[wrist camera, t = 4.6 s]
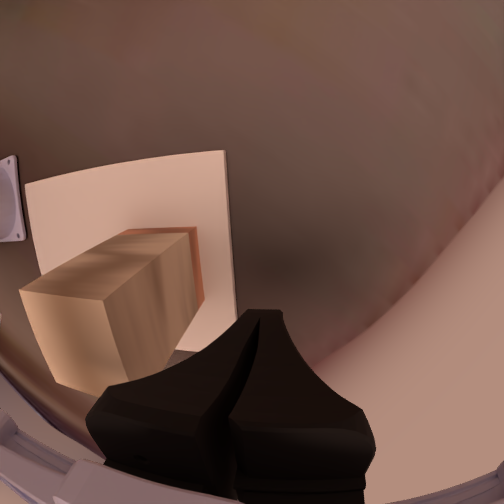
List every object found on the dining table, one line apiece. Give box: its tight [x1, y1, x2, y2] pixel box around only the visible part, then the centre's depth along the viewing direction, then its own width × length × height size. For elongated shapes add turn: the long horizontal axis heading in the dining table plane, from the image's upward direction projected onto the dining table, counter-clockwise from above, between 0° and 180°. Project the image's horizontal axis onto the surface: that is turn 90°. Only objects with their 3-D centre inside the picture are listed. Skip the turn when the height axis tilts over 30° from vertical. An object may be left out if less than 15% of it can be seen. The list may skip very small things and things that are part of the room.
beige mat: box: [25, 150, 238, 352], centre depth 20 cm, size 18×14×1 cm
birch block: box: [19, 226, 205, 397], centre depth 14 cm, size 5×5×10 cm
